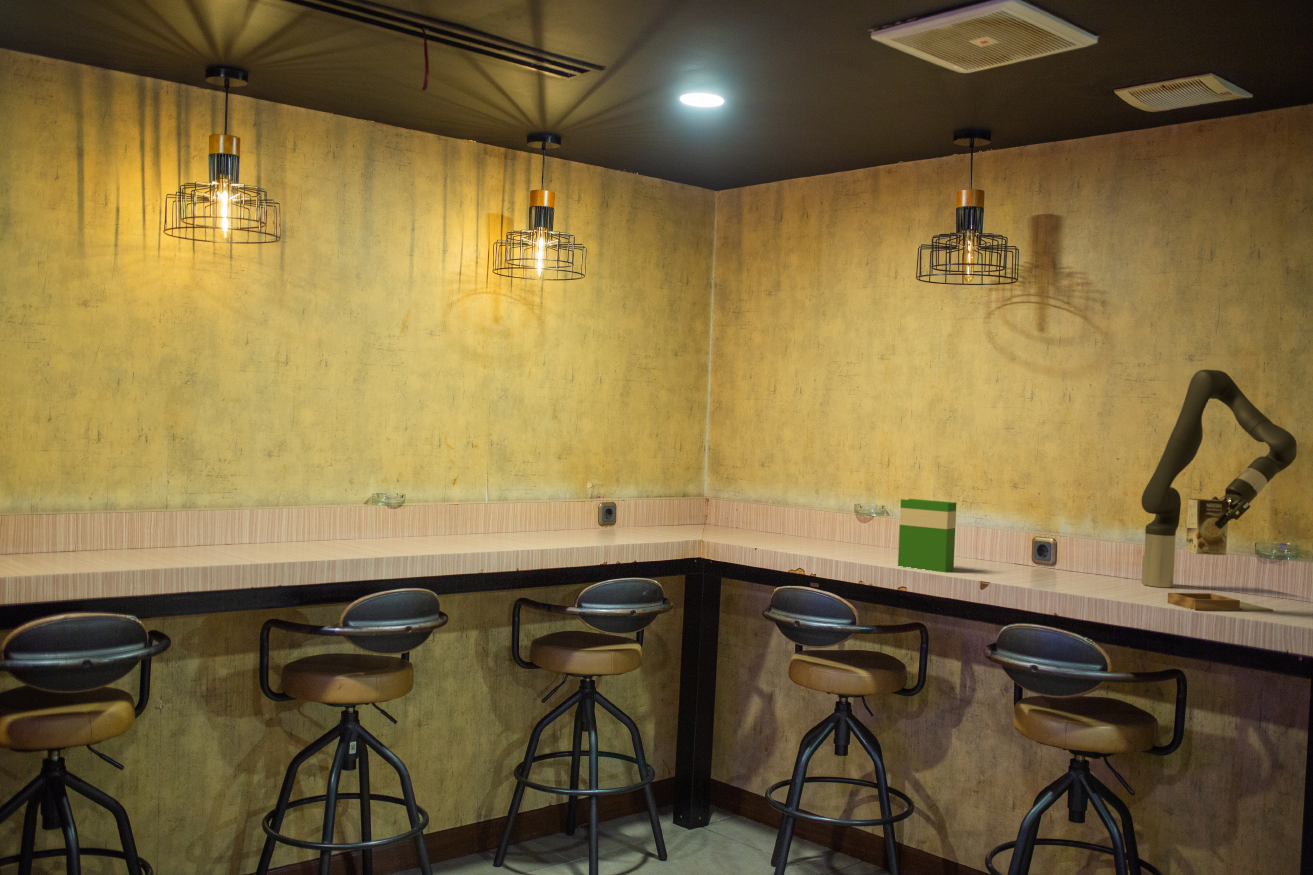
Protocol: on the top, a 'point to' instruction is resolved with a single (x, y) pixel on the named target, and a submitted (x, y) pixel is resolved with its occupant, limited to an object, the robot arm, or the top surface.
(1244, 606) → the rubber mat
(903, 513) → the green cereal box
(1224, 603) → the walnut cradle
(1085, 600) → the top surface
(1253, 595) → the top surface
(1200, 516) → the coffee box
